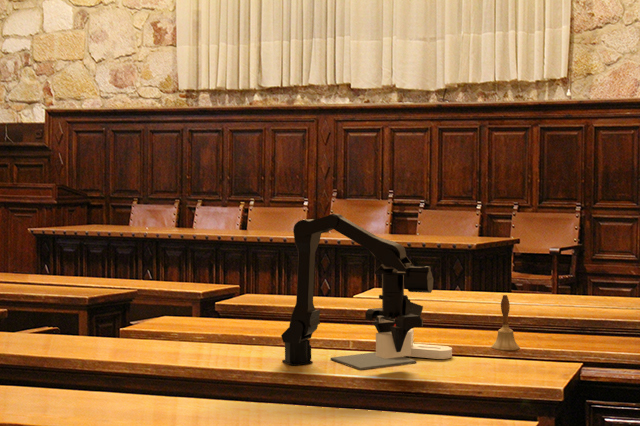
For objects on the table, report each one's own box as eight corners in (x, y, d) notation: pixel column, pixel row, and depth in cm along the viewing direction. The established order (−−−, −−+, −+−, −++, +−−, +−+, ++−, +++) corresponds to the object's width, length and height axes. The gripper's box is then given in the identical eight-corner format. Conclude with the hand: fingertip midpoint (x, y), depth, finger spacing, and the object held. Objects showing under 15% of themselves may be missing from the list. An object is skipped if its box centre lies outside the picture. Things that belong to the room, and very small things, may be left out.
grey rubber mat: (360, 370, 215) (360, 367, 215) (330, 359, 229) (330, 357, 229) (416, 362, 224) (416, 360, 224) (383, 353, 238) (383, 351, 238)
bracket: (379, 353, 233) (379, 330, 233) (387, 349, 241) (387, 326, 241) (448, 359, 227) (449, 335, 227) (454, 354, 235) (454, 331, 235)
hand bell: (520, 350, 240) (520, 297, 240) (491, 350, 242) (491, 296, 241) (519, 345, 248) (519, 293, 248) (491, 345, 250) (491, 293, 249)
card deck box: (385, 358, 210) (385, 335, 210) (375, 355, 214) (375, 333, 214) (410, 355, 214) (410, 332, 214) (400, 352, 218) (400, 330, 218)
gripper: (439, 292, 209) (439, 353, 210) (398, 286, 226) (398, 342, 226) (403, 295, 204) (404, 357, 204) (364, 288, 220) (364, 346, 221)
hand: (393, 350), depth 214 cm, fingers closed on card deck box, 4 cm apart
